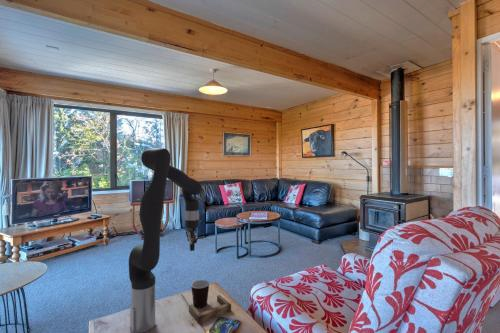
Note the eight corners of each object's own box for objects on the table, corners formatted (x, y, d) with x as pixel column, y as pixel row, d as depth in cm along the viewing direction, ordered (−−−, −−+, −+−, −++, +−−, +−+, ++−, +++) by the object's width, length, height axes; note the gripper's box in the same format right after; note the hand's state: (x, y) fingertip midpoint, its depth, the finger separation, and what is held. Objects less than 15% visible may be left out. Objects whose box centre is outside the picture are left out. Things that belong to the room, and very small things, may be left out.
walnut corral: (198, 323, 105) (198, 316, 105) (189, 311, 114) (189, 305, 114) (231, 311, 114) (231, 304, 114) (219, 300, 123) (219, 294, 123)
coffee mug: (207, 310, 115) (207, 288, 115) (189, 309, 115) (189, 288, 115) (211, 297, 126) (211, 277, 127) (195, 297, 127) (195, 277, 127)
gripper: (181, 217, 137) (181, 248, 137) (190, 221, 127) (190, 255, 126) (193, 215, 142) (193, 246, 142) (203, 219, 131) (203, 252, 131)
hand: (192, 250), depth 134 cm, fingers closed
